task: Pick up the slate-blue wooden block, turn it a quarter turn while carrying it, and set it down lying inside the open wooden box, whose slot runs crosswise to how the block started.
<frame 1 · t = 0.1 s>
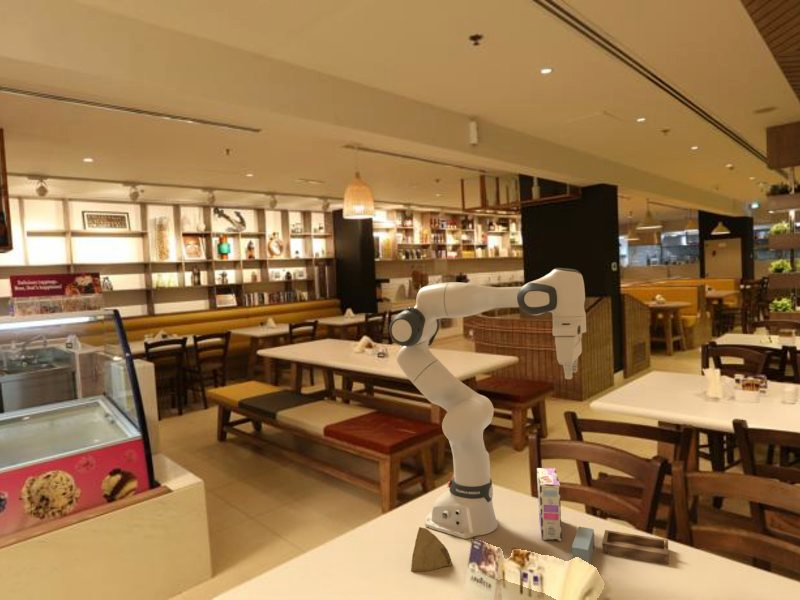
hand: (571, 375, 145), 48 cm above the table, tool pointing down, fingers open, 8 cm apart
open wooden box: (635, 550, 142), on the table
candy box: (550, 530, 156), on the table
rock: (432, 567, 140), on the table
key block: (583, 555, 141), on the table
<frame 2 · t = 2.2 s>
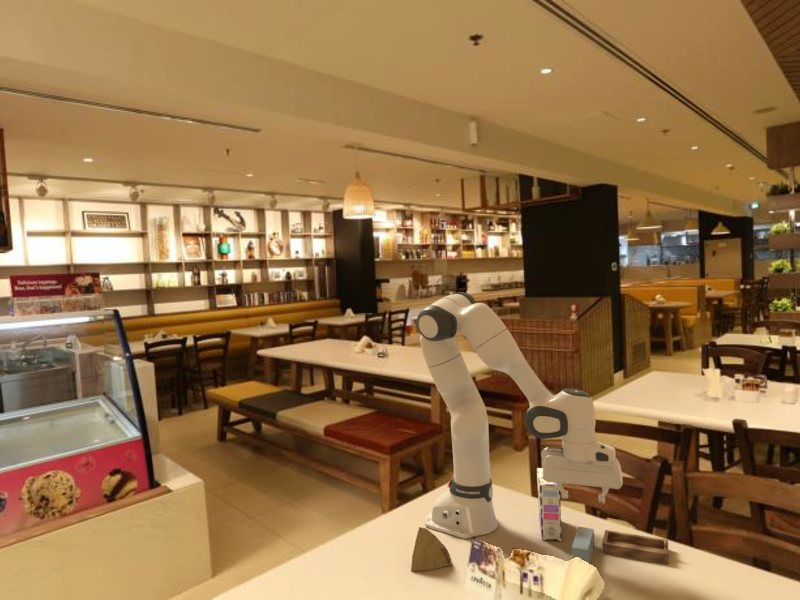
hand: (583, 500, 140), 15 cm above the table, tool pointing down, fingers open, 8 cm apart
nothing on the table moved.
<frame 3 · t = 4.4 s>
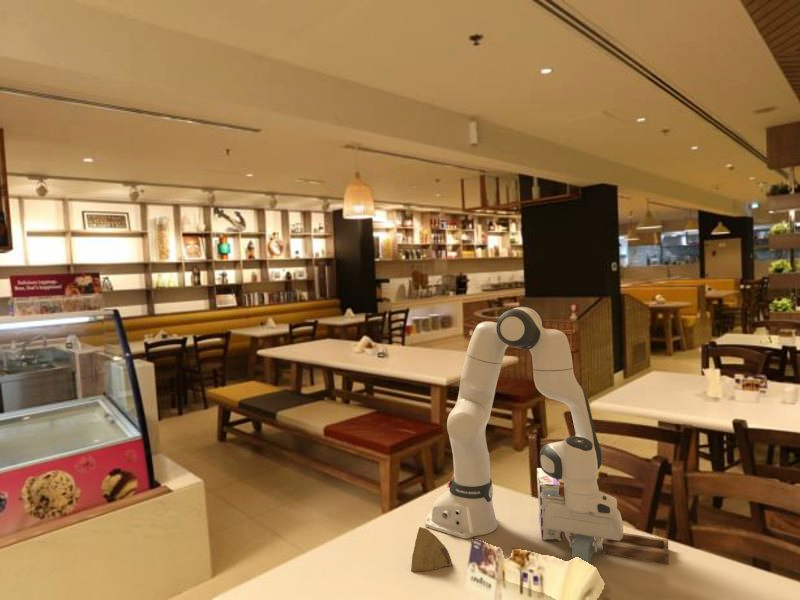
hand: (583, 549, 141), 2 cm above the table, tool pointing down, fingers closed on key block, 4 cm apart
key block: (583, 555, 141), on the table, touching gripper
everything else where it was.
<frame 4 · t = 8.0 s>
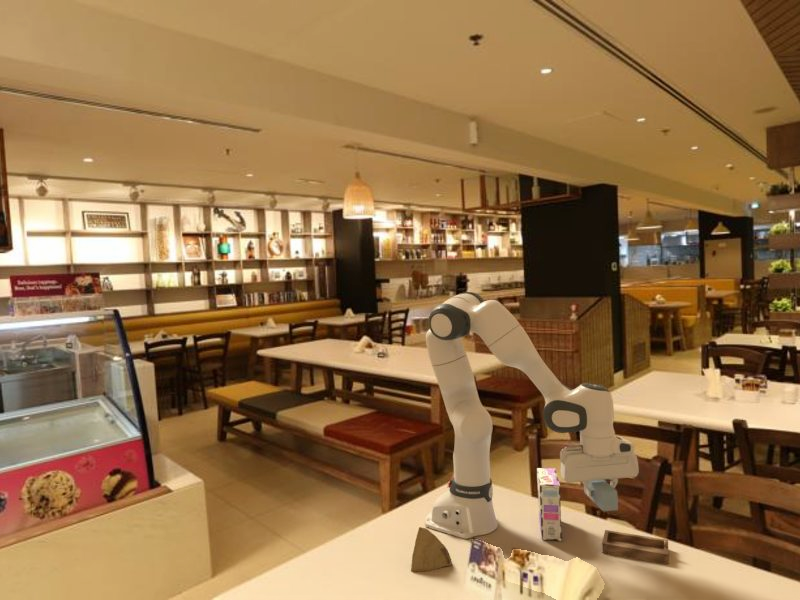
hand: (600, 494, 140), 17 cm above the table, tool pointing down, fingers closed on key block, 4 cm apart
key block: (600, 500, 140), point 15 cm above the table, touching gripper
everything else where it was.
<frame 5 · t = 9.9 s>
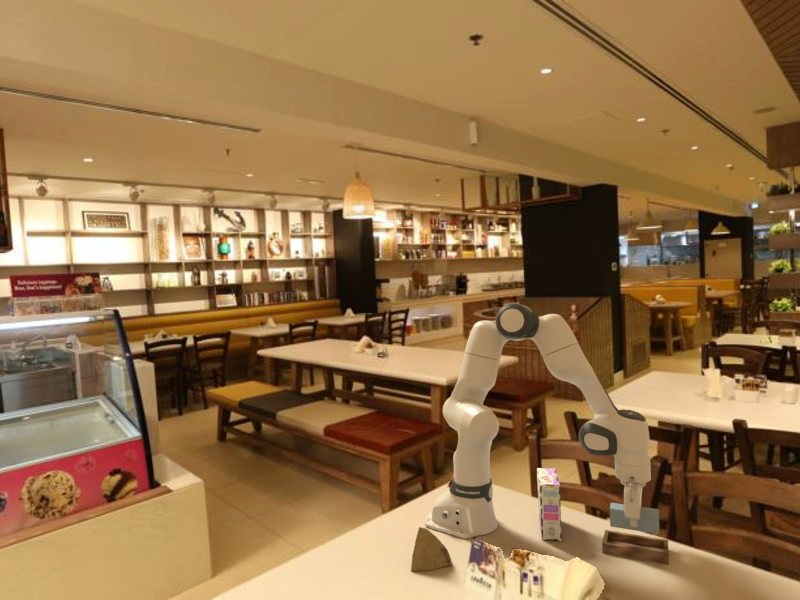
hand: (634, 521, 142), 8 cm above the table, tool pointing down, fingers closed on key block, 4 cm apart
key block: (634, 526, 142), point 7 cm above the table, touching gripper
everything else where it was.
when the fingers open (4 cm above the table, at t = 11.6 s): key block drops 1 cm, resting on open wooden box.
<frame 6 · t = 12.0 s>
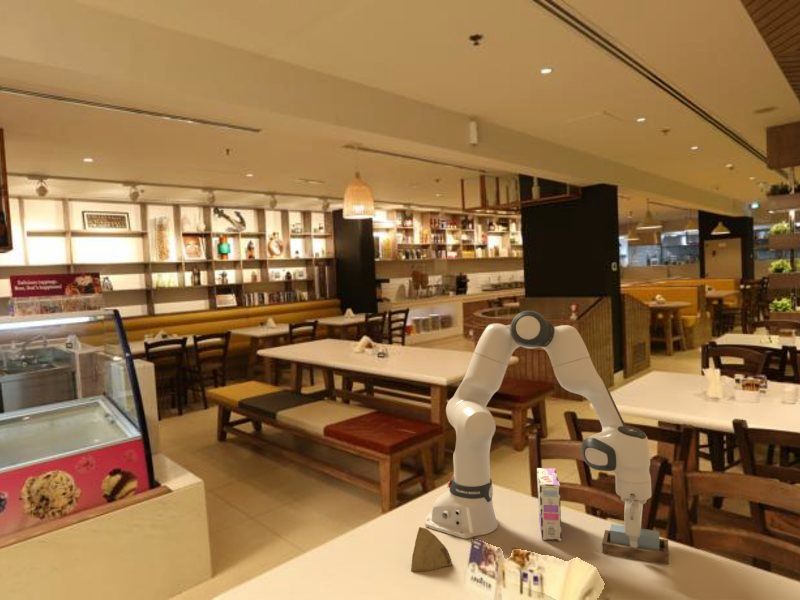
hand: (634, 537, 142), 4 cm above the table, tool pointing down, fingers open, 8 cm apart
key block: (635, 548, 142), point 1 cm above the table, touching open wooden box
everything else where it was.
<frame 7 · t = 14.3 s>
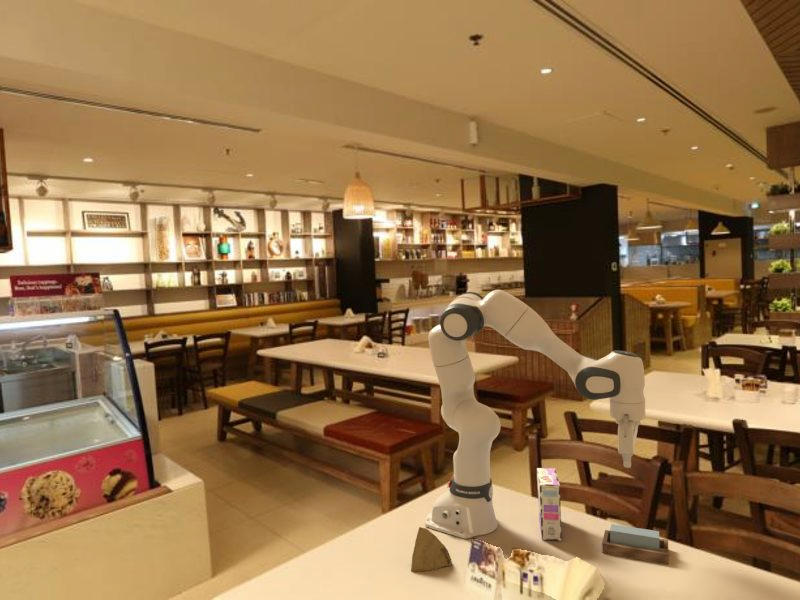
hand: (628, 460, 142), 25 cm above the table, tool pointing down, fingers open, 8 cm apart
nothing on the table moved.
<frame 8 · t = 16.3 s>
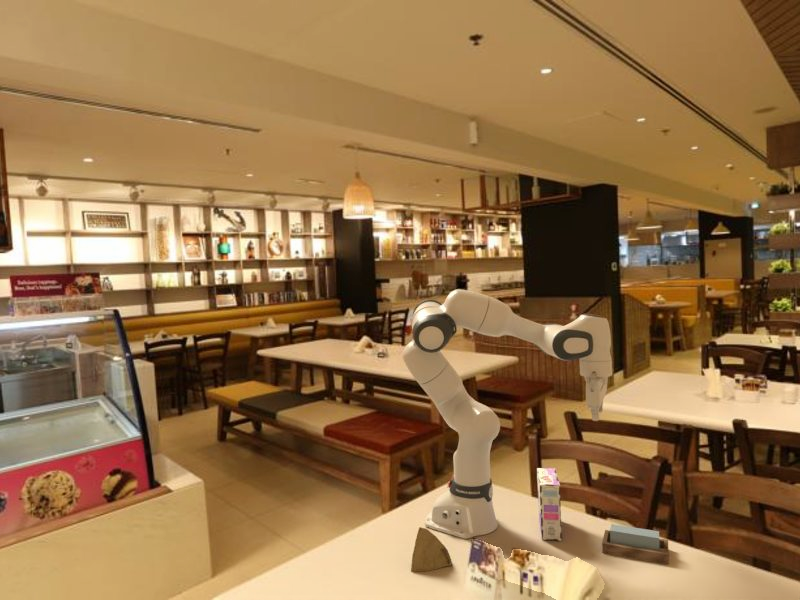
hand: (597, 415, 153), 34 cm above the table, tool pointing down, fingers open, 8 cm apart
nothing on the table moved.
at the end: key block 0.1 cm off-centre on the open wooden box, point 0.6 cm above the open wooden box's base; key block tilted 0°; the gripper is holding nothing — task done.
